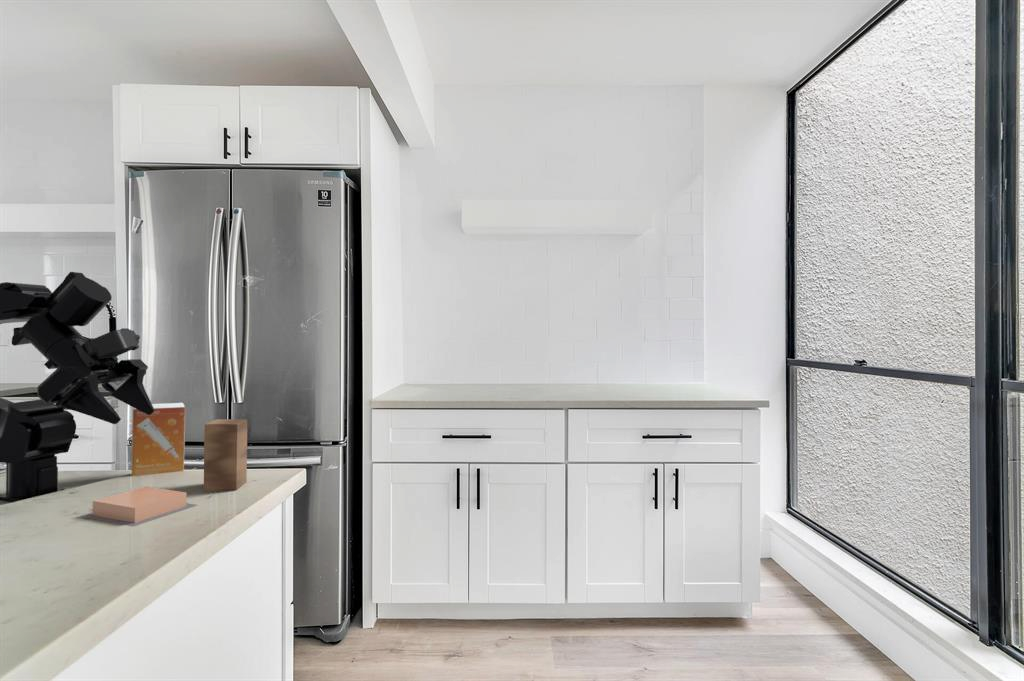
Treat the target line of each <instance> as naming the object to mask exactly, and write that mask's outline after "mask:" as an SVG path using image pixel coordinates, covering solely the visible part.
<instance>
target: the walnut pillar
mask: <svg viewBox="0 0 1024 681" xmlns="http://www.w3.org/2000/svg"><path fill="white" fill-rule="evenodd" d="M203 435H204V438H203V439H204V440H203V441H204V442H203V446H204V447H203V450H204V452H203V492H225V491H226V492H228V491H231V492H233V491H235V492H236V491H238V490H239V489H240V488H241V487H243V486H244V485H245V484H246V483H247V478H248V477H247V476H248V475H247V472H248V470H247V467H248V466H247V465H248V419H247V418H246V419H245V418H244V419H241V418H239V419H237V418H235V419H233V418H231V419H230V418H229V419H227V418H225V419H224V418H221V419H220V418H218V419H214V420H212V421H208V422H207V423H204V434H203Z"/></svg>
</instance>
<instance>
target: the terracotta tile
mask: <svg viewBox="0 0 1024 681" xmlns="http://www.w3.org/2000/svg"><path fill="white" fill-rule="evenodd" d="M186 503H187V492H184V491H178V490H172V489H165V488H158V487H151V486H143V487H140V488H135V489H133V490H132V489H131V490H128V491H125V492H120V493H117V494H114V495H109V496H107V497H102V498H98V499H95V500H94V499H93V500H92V513H93V515H94V516H99V517H105V518H110V519H116V520H121V521H127V522H133V523H136V522H139V521H142V520H145V519H149V518H152V517H155V516H158V515H161V514H164V513H167V512H170V511H173V510H176V509H179V508H182V507H185V506H186Z"/></svg>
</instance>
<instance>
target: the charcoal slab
mask: <svg viewBox="0 0 1024 681" xmlns="http://www.w3.org/2000/svg"><path fill="white" fill-rule="evenodd" d="M197 506H198V504H195V503H189V502H186V506H185V507H182V508H179V509H176V510H173V511H170V512H167V513H164V514H161V515H158V516H155V517H152V518H149V519H145V520H142V521H139V522H136V523H133V522H127V521H121V520H116V519H110V518H105V517H99V516H94V515H93V512H91V513H89V514H84V515H82V516H81V517H83V518H88V519H93V520H98V521H104V522H109V523H114V524H121V525H124V526H131V527H137V526H140V525H143V524H146V523H149V522H151V521H155V520H158V519H160V518H163V517H167V516H171V515H173V514H176V513H179V512H181V511H185V510H188V509H191V508H193V507H194V508H195V507H197Z"/></svg>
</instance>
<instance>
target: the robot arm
mask: <svg viewBox="0 0 1024 681" xmlns="http://www.w3.org/2000/svg"><path fill="white" fill-rule="evenodd" d="M110 292H111V291H109V289H108V288H107V287H105V286H102V285H101V284H100V283H99V282H97V281H95V280H94V279H91V278H88V277H86V275H84V273H83V272H76V271H70V272H69V273H68V274H67V275H66V276H65V278H64V279H63V281H62V282H61V283H60V284H59V285H58V286H57V287H56V288H55V289H54V291H53V292H52V290H51V289H50V288H49V287H47V286H46V285H43V284H31V283H22V282H21V283H19V282H9V281H7V282H0V325H2V324H11V323H14V324H15V323H25V324H23V326H22V327H21V326H20V327H13V336H12V338H11V345H12V346H21V345H28V344H29V345H30V344H31V345H32V346H33V347H34V348H35V349H36V350H37V351H38V352H39V353H40V354H42V356H43V357H44V358H45V359H46V360H47V361H46V362H45V363H44V364H43V365H44V366H45V368H46V369H47V370H52V369H53V370H54V369H55V370H54V371H53V372H52V373H51V374H50V375H49V376H48V377H46V378H45V379H44V380H43V381H42V382H41V383H40V384H39V385H38V386H36V387H37V395H36V396H37V397H38V398H39V399H32V400H26V401H25V400H24V401H18V402H14V401H11V400H8V399H5V398H3V397H0V464H1V463H3V464H5V467H6V469H5V474H6V475H5V476H6V478H5V485H6V486H5V492H3V493H0V500H3V501H10V502H19V501H24V500H28V499H33V498H36V497H40V496H44V495H48V494H54V493H56V492H57V493H58V492H61V491H65V490H67V488H62V487H59V486H58V485H59V484H58V483H59V482H58V480H59V477H58V476H59V468H58V456H56V455H58V454H65V453H68V452H69V449H70V447H71V445H72V442H73V439H74V437H75V435H76V432H77V431H76V430H77V423H76V420H75V419H74V418H75V417H74V416H75V415H73V414H72V412H70V411H68V410H71V411H73V412H78V413H81V414H84V415H86V416H89V417H92V418H95V419H98V420H101V421H104V422H107V423H109V424H111V425H112V424H113V425H117V424H118V423H119V422H120V421H121V420H122V417H120V416H119V414H118V413H117V411H116V410H115V408H114V407H113V406H112V405H111V404H110V403H109V401H108V400H107V398H105V396H104V395H103V394H102V393H101V392H100V390H99V386H100V385H101V387H102V388H103V389H104V390H105V391H107V392H109V393H112V394H110V396H111V397H113V398H115V399H117V400H118V401H120V402H122V403H124V404H126V405H127V406H128V405H129V406H130V407H131V408H133V407H134V408H135V409H137V410H139V411H141V412H143V413H146V414H148V415H151V414H152V413H153V412H154V408H153V406H152V404H153V403H152V401H151V400H150V397H149V395H148V392H147V391H146V389H145V386H144V383H143V381H144V377H145V376H146V374H147V370H148V369H149V366H148V365H147V364H146V363H145V362H144V361H143V360H142V359H141V358H137V359H136V358H129V359H121V360H120V361H119V358H118V357H119V356H120V355H123V354H125V353H128V352H130V351H135V350H138V349H139V348H140V346H139V342H140V338H141V336H140V335H139V334H137V333H136V332H135V330H133V329H129V328H125V327H124V328H120V329H114V330H112V331H109V332H107V333H104V334H102V335H99V336H97V337H95V338H92V337H91V338H85V337H84V336H83V334H81V333H80V332H79V330H77V329H76V328H75V327H76V326H77V327H85V326H87V325H89V324H90V322H92V321H93V319H95V317H96V316H97V315H98V314H99V313H100V312H101V311H102V310H103V309H104V308H105V307H106V306H107V305H108V304H109V303H110V302H111V301H112V297H113V296H112V295H111V294H112V293H110ZM116 362H117V363H116ZM115 363H116V364H115ZM112 365H114V366H113V367H111V366H112ZM65 409H67V410H65Z"/></svg>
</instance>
